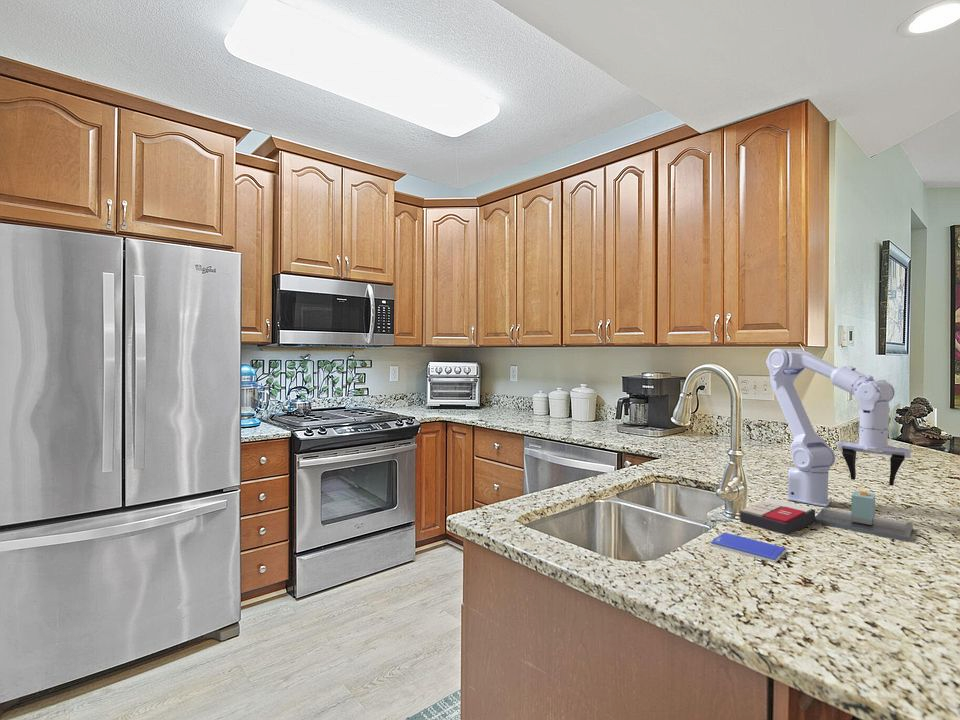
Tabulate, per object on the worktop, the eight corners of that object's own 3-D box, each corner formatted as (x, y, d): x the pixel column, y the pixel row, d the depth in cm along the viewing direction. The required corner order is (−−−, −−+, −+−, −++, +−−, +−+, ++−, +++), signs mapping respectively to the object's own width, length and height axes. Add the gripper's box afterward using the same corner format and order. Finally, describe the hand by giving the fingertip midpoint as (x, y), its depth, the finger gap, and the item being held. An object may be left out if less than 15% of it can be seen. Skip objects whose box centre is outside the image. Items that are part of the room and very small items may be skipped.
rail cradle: (813, 522, 125) (814, 512, 125) (823, 511, 134) (823, 502, 134) (909, 541, 113) (909, 530, 113) (912, 528, 122) (913, 518, 122)
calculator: (739, 508, 125) (769, 495, 134) (739, 525, 126) (769, 512, 134) (786, 521, 116) (815, 506, 125) (786, 539, 117) (815, 524, 125)
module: (851, 521, 123) (851, 492, 123) (854, 515, 127) (855, 487, 127) (871, 525, 120) (872, 495, 120) (874, 519, 125) (875, 490, 124)
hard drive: (710, 540, 110) (775, 557, 101) (724, 531, 115) (786, 546, 107) (710, 548, 110) (775, 565, 101) (724, 538, 116) (786, 554, 107)
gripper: (835, 426, 131) (834, 479, 131) (909, 433, 121) (908, 490, 121) (840, 423, 136) (839, 474, 136) (912, 430, 126) (910, 485, 126)
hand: (871, 481), depth 129 cm, fingers open, 7 cm apart
